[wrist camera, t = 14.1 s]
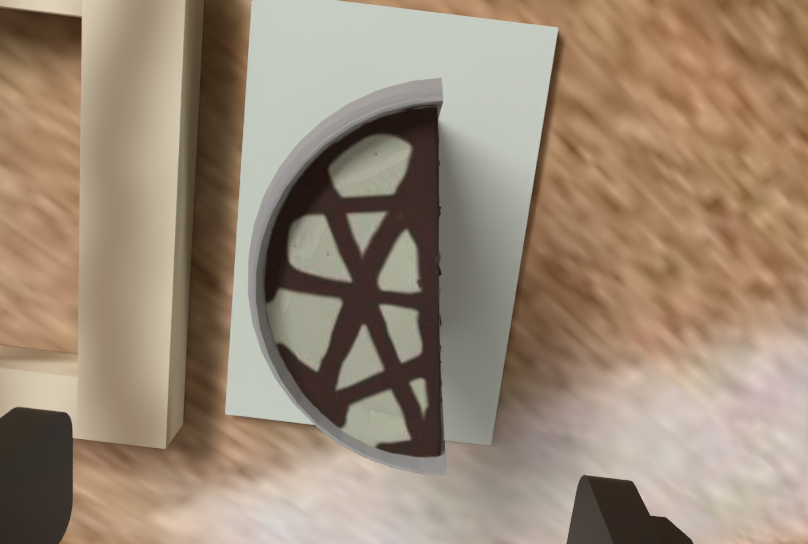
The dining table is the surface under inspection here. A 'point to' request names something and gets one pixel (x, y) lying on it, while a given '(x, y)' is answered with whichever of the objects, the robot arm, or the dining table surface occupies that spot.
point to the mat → (458, 172)
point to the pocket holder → (126, 226)
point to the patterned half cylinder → (358, 277)
